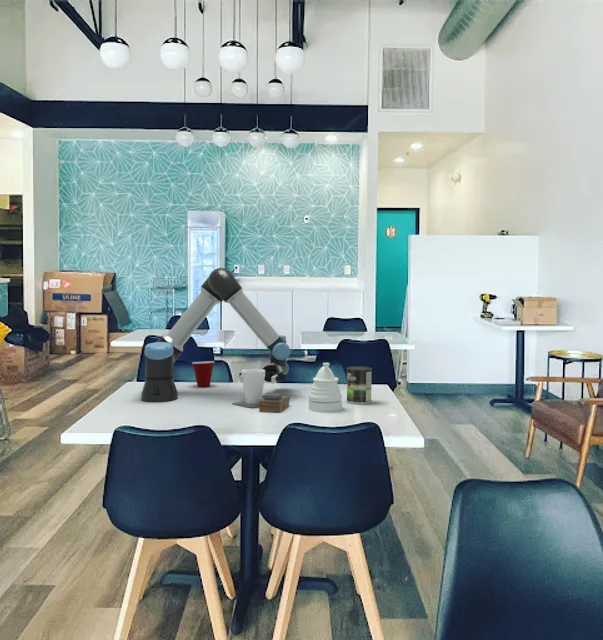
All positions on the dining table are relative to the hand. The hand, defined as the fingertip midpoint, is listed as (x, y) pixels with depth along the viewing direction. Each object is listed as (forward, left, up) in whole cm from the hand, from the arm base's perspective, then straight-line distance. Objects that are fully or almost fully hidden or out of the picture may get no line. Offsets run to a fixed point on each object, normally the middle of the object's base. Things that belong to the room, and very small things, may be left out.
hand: (256, 379), depth 249 cm
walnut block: (-3, -14, -10) cm, 17 cm away
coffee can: (+30, -29, -10) cm, 43 cm away
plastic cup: (+11, +50, -10) cm, 52 cm away
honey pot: (+10, -28, -10) cm, 32 cm away
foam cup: (-2, -1, -9) cm, 9 cm away
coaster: (-3, -1, -9) cm, 10 cm away
